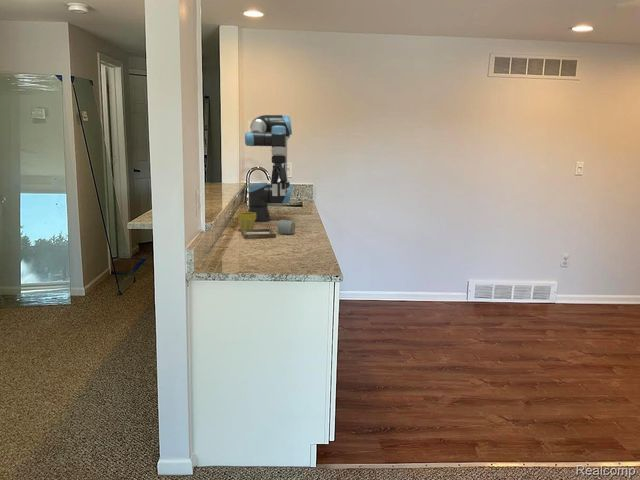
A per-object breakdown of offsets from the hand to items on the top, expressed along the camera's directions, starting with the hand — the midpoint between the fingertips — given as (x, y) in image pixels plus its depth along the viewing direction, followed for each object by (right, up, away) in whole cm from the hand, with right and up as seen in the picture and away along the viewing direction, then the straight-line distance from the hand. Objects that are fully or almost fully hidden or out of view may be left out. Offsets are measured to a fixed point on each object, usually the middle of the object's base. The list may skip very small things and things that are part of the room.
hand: (278, 195), depth 276 cm
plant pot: (-19, -18, +14) cm, 30 cm away
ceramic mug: (+4, -20, +6) cm, 21 cm away
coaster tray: (-11, -21, -2) cm, 24 cm away
